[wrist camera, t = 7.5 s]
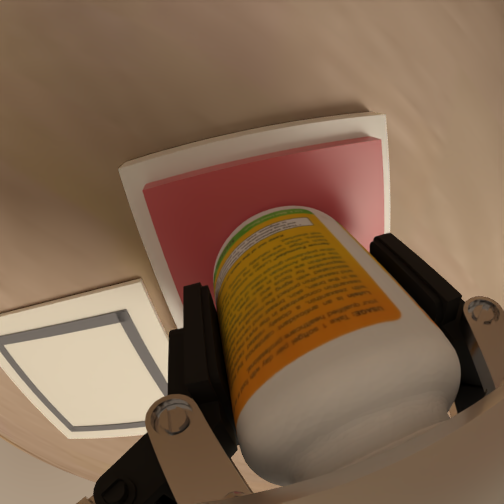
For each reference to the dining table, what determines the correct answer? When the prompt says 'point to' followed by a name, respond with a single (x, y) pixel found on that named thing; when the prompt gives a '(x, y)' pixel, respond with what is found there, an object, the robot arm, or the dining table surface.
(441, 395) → the supplement bottle
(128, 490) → the robot arm
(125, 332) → the marked sheet
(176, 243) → the ink pad
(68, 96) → the dining table surface
